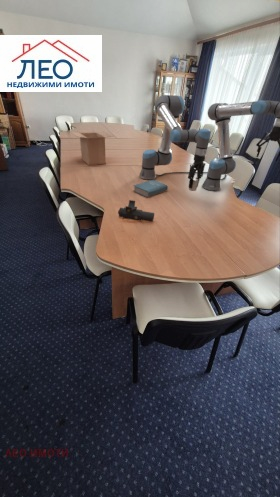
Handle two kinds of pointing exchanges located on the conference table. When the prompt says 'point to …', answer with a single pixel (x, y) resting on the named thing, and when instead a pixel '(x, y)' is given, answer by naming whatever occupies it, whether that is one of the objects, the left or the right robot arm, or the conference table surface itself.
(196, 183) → the can
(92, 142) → the box
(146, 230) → the conference table surface
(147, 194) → the book
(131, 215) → the laser sight
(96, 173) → the conference table surface
